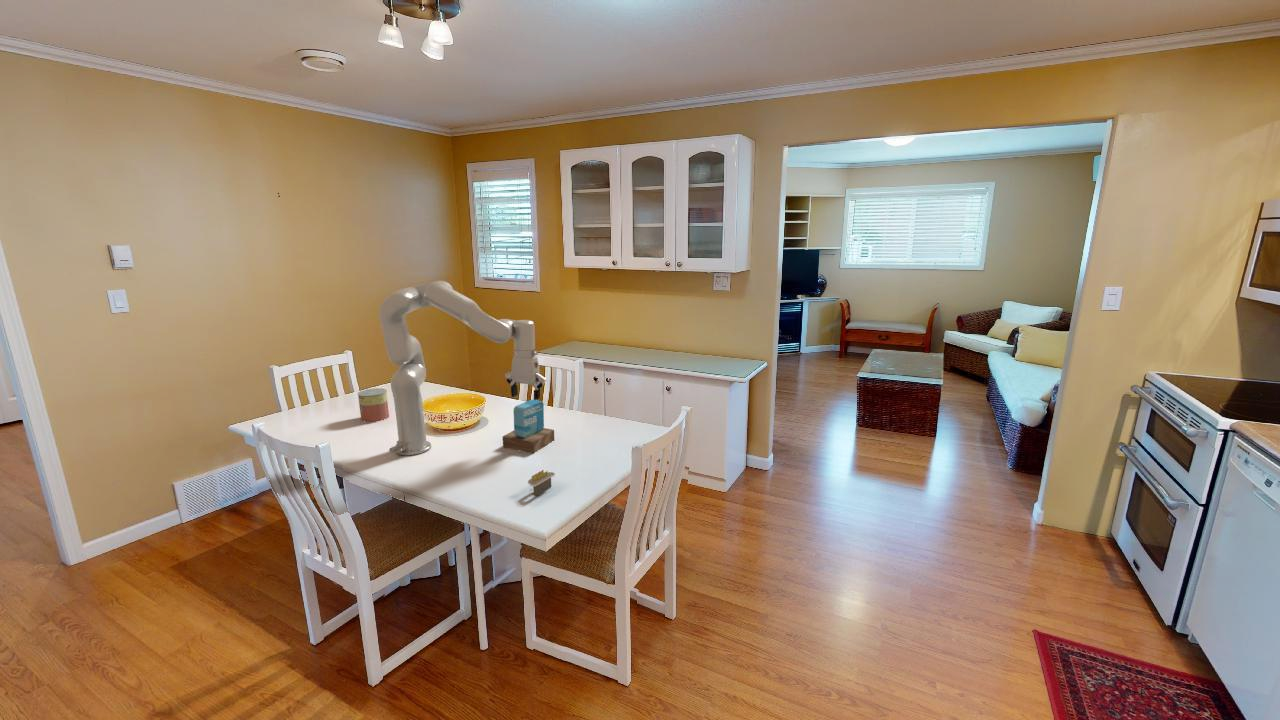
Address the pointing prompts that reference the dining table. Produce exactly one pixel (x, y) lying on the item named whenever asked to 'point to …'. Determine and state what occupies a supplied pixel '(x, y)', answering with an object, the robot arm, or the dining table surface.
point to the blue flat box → (528, 418)
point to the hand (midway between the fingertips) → (525, 397)
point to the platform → (541, 481)
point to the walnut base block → (529, 441)
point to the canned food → (373, 405)
